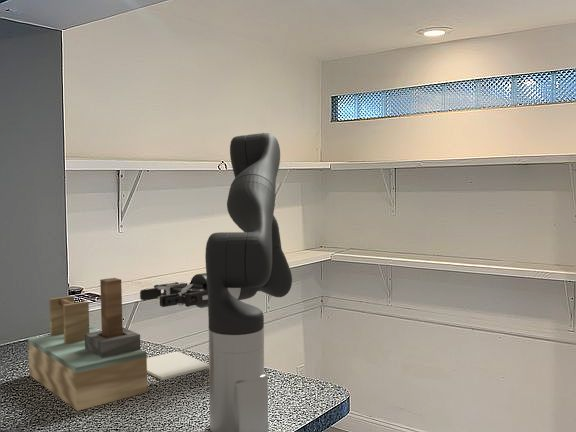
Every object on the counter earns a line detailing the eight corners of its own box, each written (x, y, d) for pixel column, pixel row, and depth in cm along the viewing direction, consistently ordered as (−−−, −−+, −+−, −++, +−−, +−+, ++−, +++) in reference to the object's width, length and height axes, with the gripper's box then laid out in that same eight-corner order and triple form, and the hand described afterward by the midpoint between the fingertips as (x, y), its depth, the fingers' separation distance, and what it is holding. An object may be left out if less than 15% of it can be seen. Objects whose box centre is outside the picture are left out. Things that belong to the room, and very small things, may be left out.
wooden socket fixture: (147, 392, 117) (145, 311, 116) (77, 411, 108) (74, 324, 107) (92, 361, 137) (90, 292, 136) (29, 375, 127) (26, 301, 126)
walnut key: (123, 349, 119) (121, 279, 118) (108, 352, 117) (106, 281, 116) (116, 346, 121) (114, 277, 120) (102, 348, 119) (100, 279, 118)
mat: (210, 367, 132) (210, 365, 132) (162, 380, 124) (162, 377, 124) (177, 353, 142) (177, 351, 142) (130, 364, 134) (130, 361, 134)
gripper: (198, 268, 140) (134, 276, 129) (233, 276, 129) (167, 285, 118) (198, 300, 140) (134, 310, 129) (234, 310, 129) (168, 322, 119)
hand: (150, 298), depth 124 cm, fingers open, 8 cm apart
